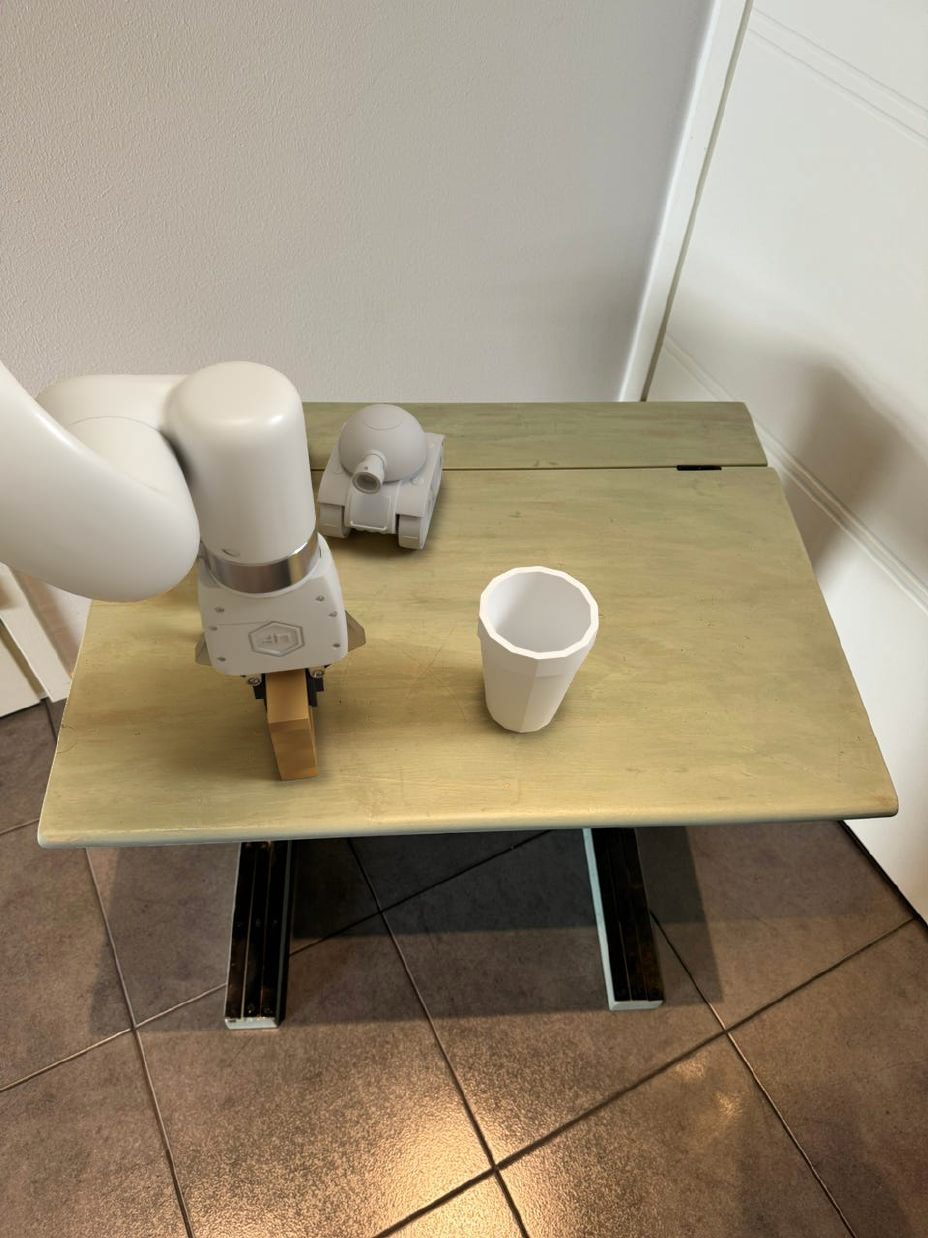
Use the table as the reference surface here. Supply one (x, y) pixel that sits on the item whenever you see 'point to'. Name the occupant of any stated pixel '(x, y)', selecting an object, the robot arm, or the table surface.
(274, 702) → the frame
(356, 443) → the toy tank
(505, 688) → the foam cup
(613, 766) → the table surface
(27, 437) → the robot arm
